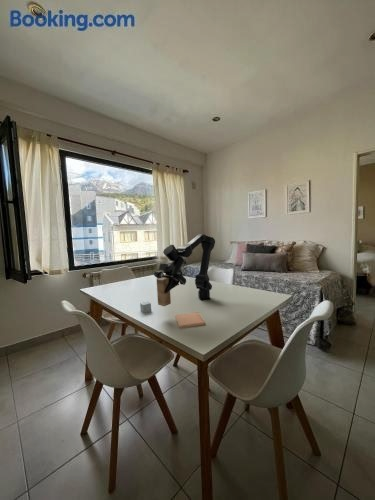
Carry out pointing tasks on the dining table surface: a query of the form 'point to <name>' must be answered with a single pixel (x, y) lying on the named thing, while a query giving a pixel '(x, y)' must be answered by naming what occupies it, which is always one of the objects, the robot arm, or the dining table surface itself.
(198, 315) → the terracotta tile
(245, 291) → the dining table surface
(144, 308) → the blue-grey cube
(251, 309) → the dining table surface
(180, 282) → the robot arm
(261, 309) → the dining table surface
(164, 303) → the walnut block
